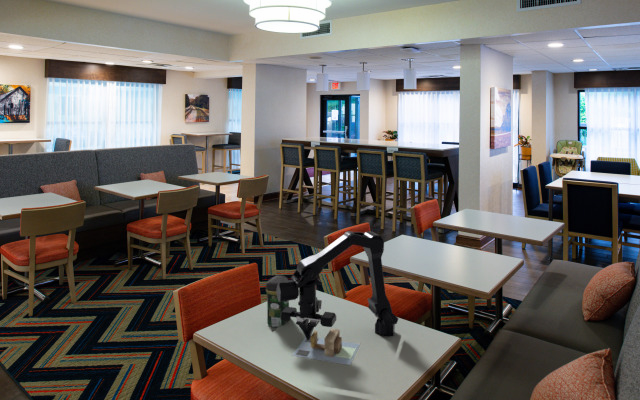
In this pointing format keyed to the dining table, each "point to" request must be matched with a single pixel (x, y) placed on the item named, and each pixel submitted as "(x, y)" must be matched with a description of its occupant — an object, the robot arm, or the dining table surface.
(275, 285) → the coffee jar
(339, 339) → the tan u-shaped piece
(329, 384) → the dining table surface
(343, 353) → the pale blue flat board
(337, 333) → the tunnel
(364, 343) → the dining table surface
